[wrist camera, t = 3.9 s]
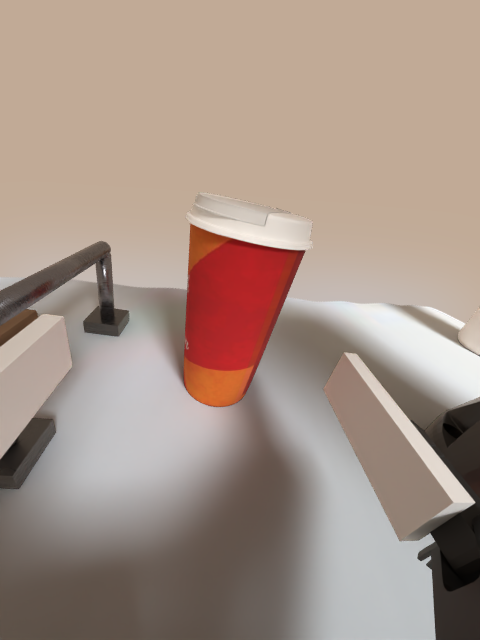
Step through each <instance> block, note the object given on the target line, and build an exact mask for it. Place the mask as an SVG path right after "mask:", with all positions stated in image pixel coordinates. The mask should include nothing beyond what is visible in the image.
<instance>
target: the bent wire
mask: <svg viewBox="0 0 480 640" xmlns="http://www.w3.org/2000/svg"><path fill="white" fill-rule="evenodd" d="M110 251H111V249H110V246H109V245H108V244H107V243H106V242H103V241H100V242H97V243H95V244H93V245H91V246H89V247H87V248H85V249H83V250H81V251H79V252H77V253H75V254H73V255H71V256H69V257H67V258H65V259H63V260H61V261H59V262H57V263H55V264H53V265H51V266H49V267H47V268H45V269H43V270H41V271H39V272H37V273H35V274H33V275H31V276H29V277H27V278H25V279H23V280H21V281H19V282H17V283H15V284H13V285H11V286H9V287H7V288H5V289H3V290H1V291H0V326H1V325H3V324H4V323H6V322H7V321H9V320H10V319H12V318H13V317H15V316H16V315H18V314H19V313H21V312H22V311H24V310H25V309H27V308H28V307H30V306H31V305H33V304H34V303H36V302H37V301H39V300H40V299H42V298H43V297H45V296H46V295H48V294H49V293H51V292H52V291H54V290H56V289H57V288H59V287H60V286H62V285H63V284H65V283H66V282H68V281H69V280H71V279H72V278H74V277H75V276H77V275H78V274H80V273H81V272H83V271H84V270H86V269H87V268H89V267H90V266H92V265H93V264H95V263H96V273H97V283H98V294H99V305H100V306H98V307H97V308H96V309H95V310H94V311H93V312H92V313H91V314H90V315H89V316H88V317H87V318H86V319H85V320H84V321H83V323H84V330H85V332H88V333H96V334H103V335H111V336H119V335H120V334H121V332H122V331H123V329H124V328H125V326H126V324H127V323H128V321H129V311H127V310H120V309H114V297H113V280H112V264H111V254H110ZM55 433H56V430H55V427H54V423H53V420H52V419H41V418H32V419H31V420H30V422H29V423H28V424H27V425H26V427H25V428H24V429H23V431H22V432H21V433H20V435H19V436H18V437H17V438H16V440H15V441H14V442H13V444H12V445H11V446H10V447H9V449H8V450H7V451H6V453H5V454H4V455H3V456H2V458H1V459H0V489H19V488H20V486H21V485H22V483H23V482H24V480H25V479H26V477H27V476H28V474H29V473H30V471H31V470H32V468H33V467H34V465H35V464H36V462H37V461H38V459H39V457H40V456H41V454H42V453H43V451H44V450H45V448H46V447H47V445H48V444H49V442H50V441H51V439H52V438H53V436H54V435H55Z"/></svg>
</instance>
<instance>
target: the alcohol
mask: <svg viewBox="0 0 480 640" xmlns="http://www.w3.org/2000/svg"><path fill="white" fill-rule="evenodd" d="M458 340H459V342H460V343H461V344H462V345H463V346H464V347H466V348H467V349H469V350H470V351H472V352H473V353H475V354H477V355H479V356H480V307H479V308H478V309H477V311H476V312H475V313H474V314H473V316H472V317H471V318H470V319H469V321H468V322H467V323H466V324H465V325H464V327H463V328H462V329H461V330H460V332H459V333H458Z"/></svg>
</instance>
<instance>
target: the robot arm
mask: <svg viewBox="0 0 480 640" xmlns="http://www.w3.org/2000/svg"><path fill="white" fill-rule="evenodd" d="M72 366H73V364H72V359H71V353H70V348H69V343H68V337H67V332H66V326H65V321H64V316H57V315H49V314H42V315H41V316H40V317H38V318H37V319H36V320H34V321H33V322H32V323H31V324H29V325H28V326H27V327H25V328H24V329H23V330H22V331H20V332H19V333H18V334H16V335H15V336H14V337H12V338H11V339H10V340H9V341H7V342H6V343H5V344H3V345H2V346H1V347H0V459H1V458H2V456H3V455H4V454H5V453H6V451H7V450H8V449H9V447H10V446H11V445H12V444H13V442H14V441H15V440H16V438H17V437H18V436H19V435H20V433H21V432H22V431H23V429H24V428H25V427H26V425H27V424H28V423H29V422H30V420H31V419H32V418H33V416H34V415H35V414H36V413H37V411H38V410H39V409H40V407H41V406H42V405H43V404H44V402H45V401H46V400H47V398H48V397H49V396H50V394H51V393H52V392H53V391H54V389H55V388H56V387H57V385H58V384H59V383H60V382H61V380H62V379H63V378H64V376H65V375H66V374H67V373H68V371H69V370H70V369H71V367H72ZM323 390H324V392H325V394H326V396H327V398H328V400H329V402H330V404H331V406H332V408H333V410H334V412H335V414H336V416H337V418H338V420H339V422H340V424H341V426H342V428H343V430H344V432H345V434H346V436H347V438H348V440H349V442H350V444H351V445H352V447H353V449H354V451H355V453H356V455H357V457H358V459H359V461H360V463H361V465H362V467H363V469H364V471H365V473H366V475H367V477H368V479H369V481H370V483H371V485H372V487H373V489H374V491H375V493H376V495H377V497H378V499H379V501H380V503H381V505H382V507H383V509H384V511H385V513H386V515H387V517H388V519H389V521H390V523H391V525H392V527H393V529H394V531H395V533H396V535H397V537H398V539H399V541H417V540H420V539H422V538H423V537H425V536H426V535H428V534H429V533H431V535H432V536H433V538H434V540H435V541H436V542H434V543H432V544H431V545H429V546H428V547H426V548H424V549H423V550H421V551H420V552H419V553H418V558H417V559H419V560H420V561H422V560H424V559H426V558H427V557H429V556H431V560H430V561H429V562H428V563H427V564H426V565H427V566H428V567H429V568H430V569H432V579H433V597H434V615H435V633H436V640H480V397H479V398H476V399H474V400H471V401H469V402H466V403H464V404H461V405H459V406H457V407H454V408H452V409H449V410H447V411H445V412H444V413H442V414H441V415H439V416H438V417H437V418H436V419H435V420H434V421H433V422H432V423H431V424H430V425H429V427H428V428H427V429H426V430H425V431H423V430H422V429H421V428H420V427H419V426H418V425H417V424H415V423H414V422H413V421H412V420H409V419H408V418H407V416H406V415H405V414H404V413H403V411H402V410H401V409H400V408H399V406H398V405H397V404H396V403H395V401H394V400H393V399H392V398H391V396H390V395H389V394H388V393H387V391H386V390H385V389H384V388H383V386H382V385H381V384H380V383H379V381H378V380H377V379H376V378H375V376H374V375H373V374H372V373H371V371H370V370H369V369H368V368H367V366H366V365H365V364H364V363H363V361H362V360H361V359H360V358H359V356H358V355H357V354H354V353H346V352H343V354H342V356H341V358H340V360H339V361H338V363H337V365H336V367H335V369H334V371H333V372H332V374H331V376H330V378H329V380H328V382H327V383H326V385H325V387H324V389H323Z"/></svg>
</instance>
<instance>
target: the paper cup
mask: <svg viewBox="0 0 480 640" xmlns="http://www.w3.org/2000/svg"><path fill="white" fill-rule="evenodd" d="M185 217H186V219H187V220H188V221H189V222H190V223H191V224H190V244H189V245H190V246H189V266H188V287H187V305H186V327H185V349H184V384H185V387H186V390H187V391H188V393H189V394H190V395H191V396H192V397H193V398H194V399H195V400H197V401H199V402H200V403H203V404H205V405H208V406H213V407H225V406H230V405H233V404H235V403H237V402H238V401H240V400H241V399H242V398H243V397H244V395H245V394H246V392H247V390H248V388H249V386H250V383H251V381H252V379H253V376H254V374H255V372H256V369H257V367H258V365H259V362H260V360H261V357H262V355H263V353H264V350H265V348H266V345H267V343H268V341H269V338H270V336H271V333H272V331H273V328H274V326H275V324H276V321H277V319H278V316H279V314H280V311H281V309H282V306H283V304H284V302H285V299H286V297H287V294H288V292H289V289H290V287H291V284H292V282H293V279H294V277H295V275H296V272H297V270H298V267H299V265H300V263H301V260H302V258H303V255H304V253H305V250H309V249H311V248H312V247H313V242H312V240H310V235H311V231H312V225H313V223H312V220H310V219H308V218H306V217H302V216H300V215H295V214H291V213H290V212H288V211H284V210H281V209H277V208H276V209H274V208H271V207H269V206H264V205H261V204H257V203H252V202H249V201H244V200H240V199H236V198H231V197H226V196H221V195H216V194H210V193H202V192H199V194H197V196H196V200H195V203H193V207H192V210H190V211H188V212H187V214H186V215H185Z"/></svg>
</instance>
